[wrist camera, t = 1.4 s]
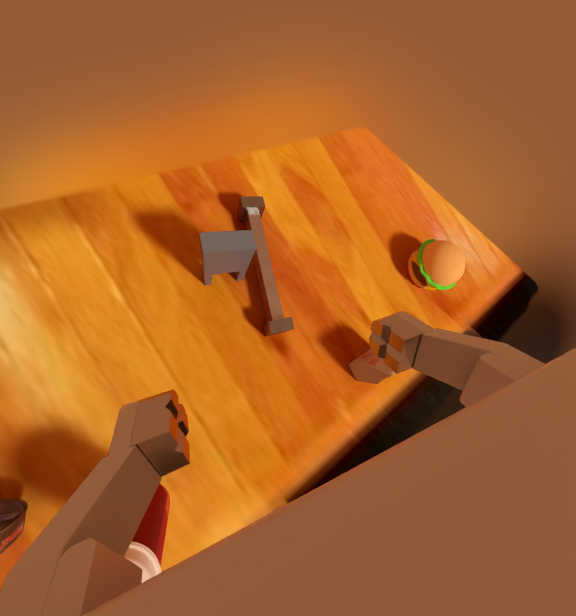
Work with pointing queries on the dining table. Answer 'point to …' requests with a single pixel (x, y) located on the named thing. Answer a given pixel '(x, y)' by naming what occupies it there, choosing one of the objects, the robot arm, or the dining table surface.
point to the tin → (11, 521)
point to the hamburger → (436, 265)
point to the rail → (263, 266)
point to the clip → (226, 253)
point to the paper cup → (151, 536)
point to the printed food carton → (370, 368)
